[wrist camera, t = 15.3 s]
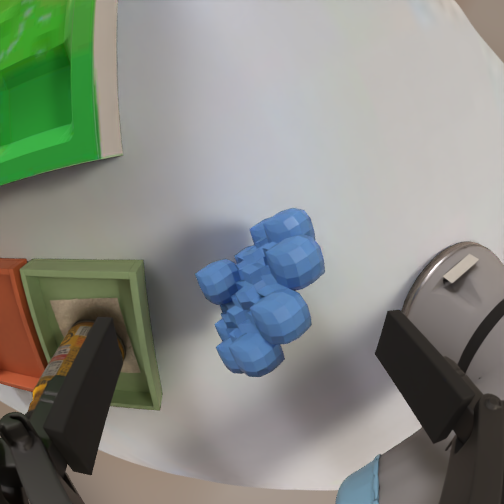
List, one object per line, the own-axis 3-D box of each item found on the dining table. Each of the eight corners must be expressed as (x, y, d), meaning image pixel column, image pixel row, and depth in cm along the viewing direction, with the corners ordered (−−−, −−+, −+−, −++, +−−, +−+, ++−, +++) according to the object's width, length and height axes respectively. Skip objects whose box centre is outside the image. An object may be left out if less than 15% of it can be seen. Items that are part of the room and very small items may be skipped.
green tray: (143, 259, 24) (136, 272, 22) (162, 393, 29) (160, 410, 27) (32, 258, 23) (19, 269, 20) (69, 383, 28) (63, 398, 26)
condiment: (78, 370, 27) (40, 458, 15) (50, 299, 24) (-15, 383, 12) (141, 371, 27) (118, 472, 16) (118, 296, 24) (67, 396, 13)
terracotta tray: (26, 258, 23) (12, 268, 20) (64, 383, 28) (57, 397, 25) (-42, 257, 21) (-55, 265, 19) (-3, 368, 26) (-11, 380, 24)
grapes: (225, 171, 22) (233, 200, 11) (307, 202, 24) (381, 257, 13) (179, 303, 26) (161, 410, 14) (253, 324, 27) (275, 431, 16)
